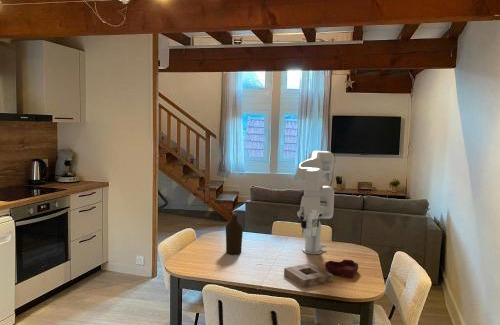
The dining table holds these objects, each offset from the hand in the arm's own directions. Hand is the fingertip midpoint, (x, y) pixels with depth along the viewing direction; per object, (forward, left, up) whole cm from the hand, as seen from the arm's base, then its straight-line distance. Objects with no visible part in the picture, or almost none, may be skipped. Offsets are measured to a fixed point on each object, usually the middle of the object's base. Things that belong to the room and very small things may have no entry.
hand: (309, 227), depth 202 cm
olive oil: (+18, -53, -28) cm, 62 cm away
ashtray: (-23, +2, -28) cm, 36 cm away
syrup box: (0, 0, -5) cm, 5 cm away
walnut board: (0, 0, -28) cm, 28 cm away
